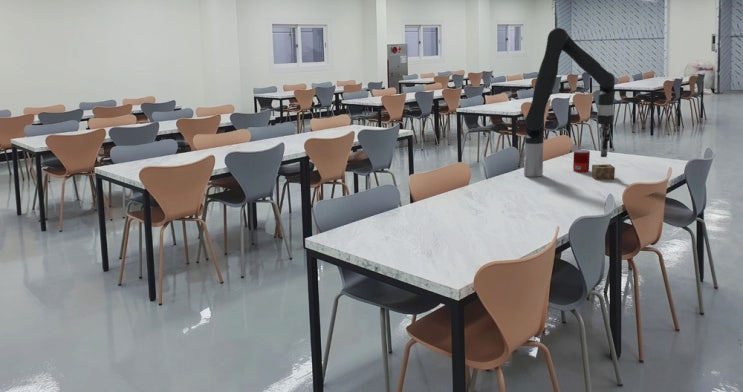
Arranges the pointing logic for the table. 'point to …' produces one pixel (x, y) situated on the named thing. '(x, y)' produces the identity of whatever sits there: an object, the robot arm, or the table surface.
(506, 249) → the table surface
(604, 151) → the pin
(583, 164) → the canned food
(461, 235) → the table surface
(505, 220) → the table surface
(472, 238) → the table surface
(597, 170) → the socket block
